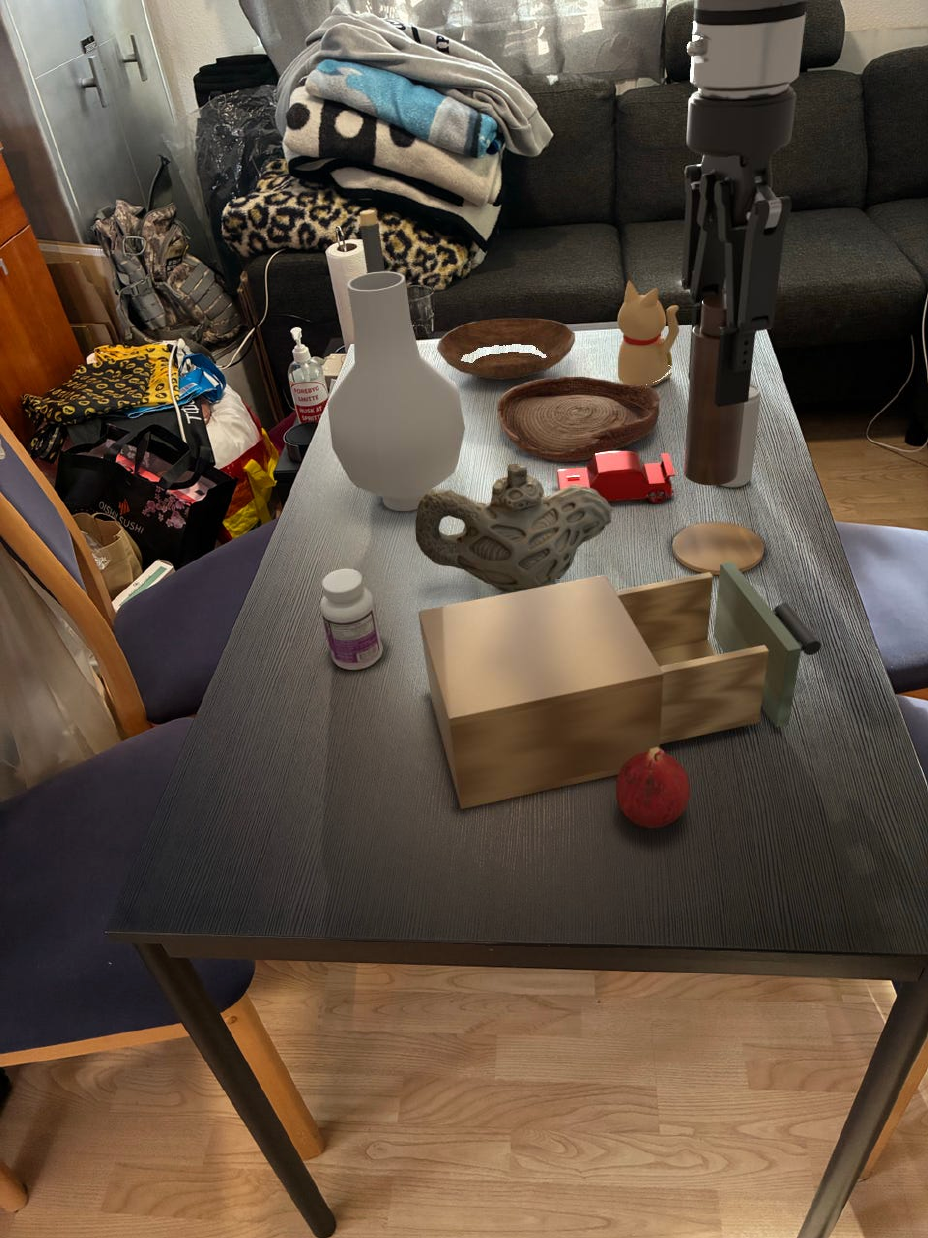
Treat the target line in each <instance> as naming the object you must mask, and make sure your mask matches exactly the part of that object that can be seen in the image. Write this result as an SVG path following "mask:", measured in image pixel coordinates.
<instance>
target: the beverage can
mask: <svg viewBox="0 0 928 1238" xmlns="http://www.w3.org/2000/svg"><path fill="white" fill-rule="evenodd" d="M760 393H761V390H760V388H759V387H758V386H757V385H755V384H752V383H750V389H749V399H748V402H745V403H744V413H743V423H742V433H741V442H740V452H739V462H738V471H737V476H736V478H735V479H734V480H732V481H731V482H729V483H726V484H722V485H720V486H722V487H725V488H732V489H733V488H740V487H743V486H745V485H747V484H748V483H750V481H751V480H752V477H753V468H754V459H755V450H756V441H757V432H758V423H759V414H760V407H761V406H760V405H761V395H760Z"/></svg>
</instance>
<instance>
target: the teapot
mask: <svg viewBox="0 0 928 1238" xmlns="http://www.w3.org/2000/svg"><path fill="white" fill-rule="evenodd" d="M506 472H507V473H506V474H507V475H506V476H504V477H501V478H498V479H496V481H495V482H494V483H493V485H492V490H491V499H490V501H489V502H487V503H486V502H481V501H476V500H474V499H472V498H469V497H468V496H466V495H463V494H459V493H457V492H455V491H454V490H453V489H443V488H442V489H441V488H439V489H432V490H431V491H430V492H428V493H427V494H426V495H425V496H424V497H423V498H422V499H421V500H420V502H419V505H418V508H417V509H416V513H415V519H414V530H415V531H414V532H415V533H414V534H415V542H416V544H417V546H418V548H419V550H420V551H421V552H422V554H423V555H424V556H425V557H426V558H428V560H430V561H431V562H432V563H434V564H436V565H439V566H444V567H453V568H456V569H459V570H463V571H464V572H467V573H468V574H470V575H471V576H473V577H475V578H476V579H478V580H480V581H481V582H483V583H485V584H487V585H489V586H492V587H493V588H495V589H496V590H497V591H501V592H505V593H513V592H518V591H523V590H529V589H534V588H539V587H544V586H549V585H554V584H555V581H556V580H561V579H562V578H563V577H564V576H565V575H566V573H567V572H568V571H569V570H570V568H571V567H572V565H573V563H574V560H575V557H576V554H577V551H578V549H579V548H580V547H581V546H582V544H584V543H586V542H589V541H591V540H592V539H594V538H596V537H598V536H599V535H601V533H602V532H603V531H604V530H605V528H606V527H607V526H608V525H609V524H611V523H612V511H613V508H612V506H611V505H610V503H609V501H607V500H606V499H605V498H603V497H601V496H600V495H599V493H598V492H597V491H596V490H594V489H591V488H589V487H587V486H578V485H576V484H573V485H571V486H569V487H566V488H562V489H561V490H559V491H558V490H557V491H556V492H553V493H552V494H549V495H545V490H544V488H543V487H544V486H543V484H542V483H541V482H540V481H539V479H538V478H536V477H534V476H532V475H530V474H528V467H527V466H526V465H520V464H519V463H511V464H507V468H506ZM447 517H450V518H454V519H457V520H460V521H462V522H463V524H464V526H463V529H462V531H461V532H459V533H453V534H445V533H443V532H441V531H440V525H441V522H442V520H443V519H444V518H447Z"/></svg>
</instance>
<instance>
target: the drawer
mask: <svg viewBox="0 0 928 1238" xmlns="http://www.w3.org/2000/svg"><path fill="white" fill-rule="evenodd" d="M713 583H714V575H712V574H711V573H710V572H708V573H699V574H698V573H697V574H694V575H693V574H692V575H689V576H683V577H678V578H674V579H668V580H664V581H657V582H654V583H653V582H652V583H648V584H642V585H639V586H633V587H629V588H628V587H627V588H622V589H618V590H615V592H616V594H617V595H618V597H619V599H620V601H621V602H622V604H623V606H624V607H625V609H626V611H627V612H628V614H629V616H630V618H631V619H632V621H633V623H634V624H635V626H636V628H637V629H638V631H639V633H640V635H641V636H642V638H643V640H644V641H645V643H646V645H647V646H648V648H649V650H650V652H651V653H652V655H653V657H654V658H655V660H656V662H657V663H658V665H659V667H660V669H661V670H662V672H663V674H664V676H663V693H662V712H661V731H660V745H663V744H667V743H671V742H676V741H681V740H686V739H691V738H694V737H695V738H696V737H699V736H704V735H708V734H713V733H717V732H718V733H719V732H723V731H727V730H731V729H736V728H741V727H745V726H749V725H755V724H758V723H760V717H761V709H763V710H764V712H765V713H766V715H767V716H768V717H769V720H770V721H771V722H772V724H773V725H774V726H775V727H776V728H780V727H784V726H785V727H786V726H788V725H789V724H790V718H791V714H792V713H791V712H792V706H793V700H794V694H795V689H796V682H797V676H798V670H799V665H800V660H801V659H800V658H801V653H804V654H805V655H807V656H814V655H815V654H817V653H818V652H819V651H820V650H821V647H822V644H821V643H822V642H820V641H819V639H818V638H817V637H816V636H815V635H814V633H813V632H812V631H811V630H810V629H809V627H808V626H807V625H806V624H805V623H804V621H803V620H802V619H801V617H800V616H799V615H798V614H797V613H796V612H795V610H794V609H793V608H792V607H791V606H790V604H789V603H787V602H781V603H779V604H777V605H776V606H775V607H774V608H773V610H772V609H771V608H770V607H769V605H768V604H767V602H765V600H764V599H763V598H762V597H761V595H760V594H759V593H758V592H757V590H756V589H755V588H754V586H752V584H751V583H750V582H749V580H748V579H747V578H746V576H745V575H744V574H743V572H740V571H739V569H738V568H737V567H736V565H735V564H734V563H733V562H732V561H731V562H726V563H721V564H720V574H719V575H718V585H717V586H718V587H717V597H716V607H715V616H714V617H715V618H714V619H715V620H714V630H713V638H714V639H715V641H716V642H717V644H718V645H719V647H720V648H721V649H722V651H723V652H724V653H720V654H718V653H717V651H716V650H715V648H714V647H713V645H712V644H711V642H710V641H709V631H710V630H709V629H710V618H711V606H712V596H713V595H712V594H713Z"/></svg>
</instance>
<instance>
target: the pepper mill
mask: <svg viewBox="0 0 928 1238" xmlns="http://www.w3.org/2000/svg"><path fill="white" fill-rule="evenodd" d="M721 326H727V314H726V294H716V295H711V296H708V297H706V298H705V299H703V301H702V310H701V323H699V324H697V325H696V326H695V327H694V328H693V335H692V351H691V367H690V380H689V384H688V385H689V386H688V400H687V401H688V402H687V414H686V415H687V416H686V432H685V433H686V434H685V449H684V460H683V461H684V464H683V475H684V477H685V478H686V479H687V480H689V481H690V482H692V483H695V484H698V485H702V486H710V487H711V486H721V485H722V484H726V483H729V482H731V481H732V480H734V479H735V478H736V476H737V471H738V462H739V452H740V442H741V433H742V423H743V413H744V403H745V402H744V403H739V404H733V405H728V406H722V407H717V406H716V405H715V404H714V403H715V391H716V379H717V367H718V354H719V342H720V333H719V331H718V327H721Z"/></svg>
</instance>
